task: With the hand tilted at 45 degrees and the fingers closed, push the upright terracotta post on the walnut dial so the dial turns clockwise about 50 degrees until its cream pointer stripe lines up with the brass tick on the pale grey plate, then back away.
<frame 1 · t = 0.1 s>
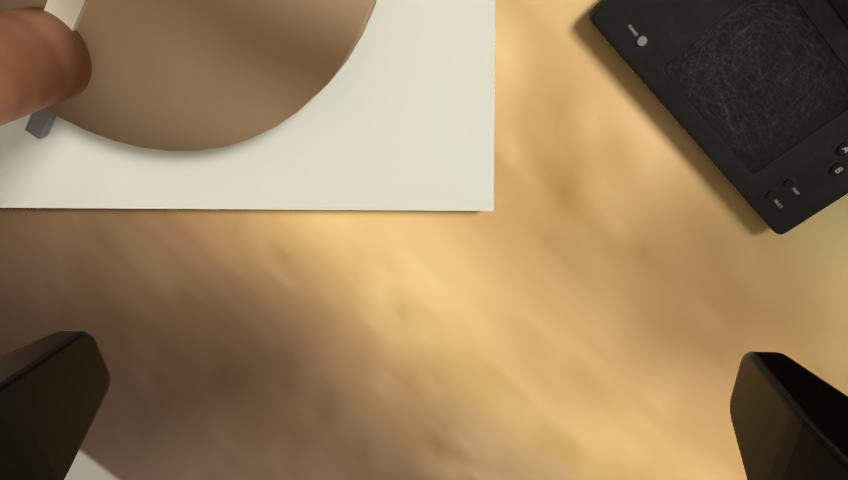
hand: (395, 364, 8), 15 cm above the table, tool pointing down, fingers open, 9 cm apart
handheld gaming console: (803, 30, 19), on the table
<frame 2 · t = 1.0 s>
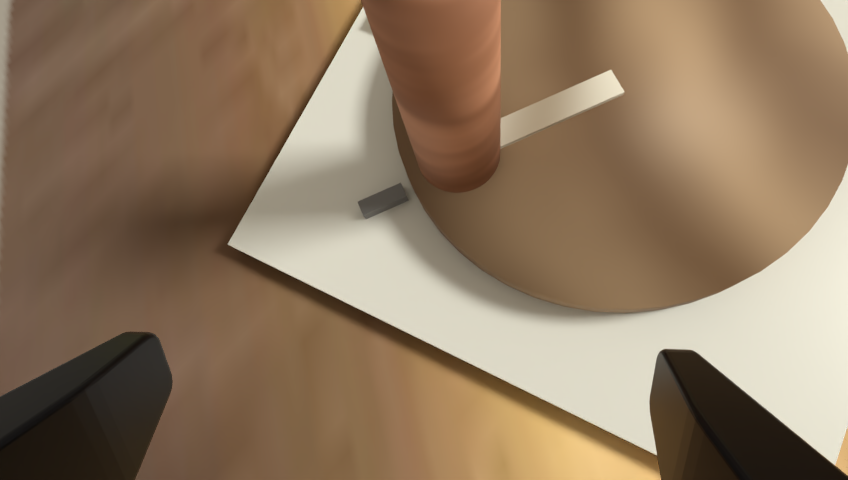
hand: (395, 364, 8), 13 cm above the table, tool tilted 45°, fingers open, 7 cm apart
dial plate: (600, 116, 23), on the table
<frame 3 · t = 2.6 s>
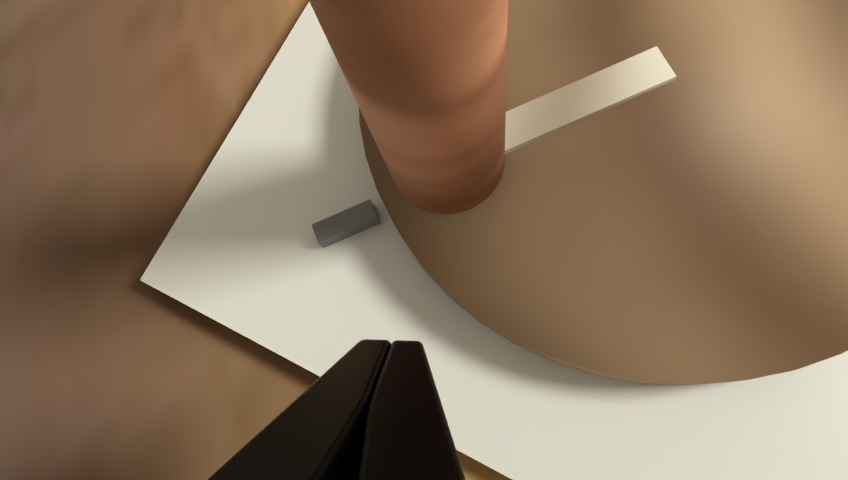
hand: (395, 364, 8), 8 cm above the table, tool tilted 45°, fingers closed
dial plate: (637, 111, 17), on the table
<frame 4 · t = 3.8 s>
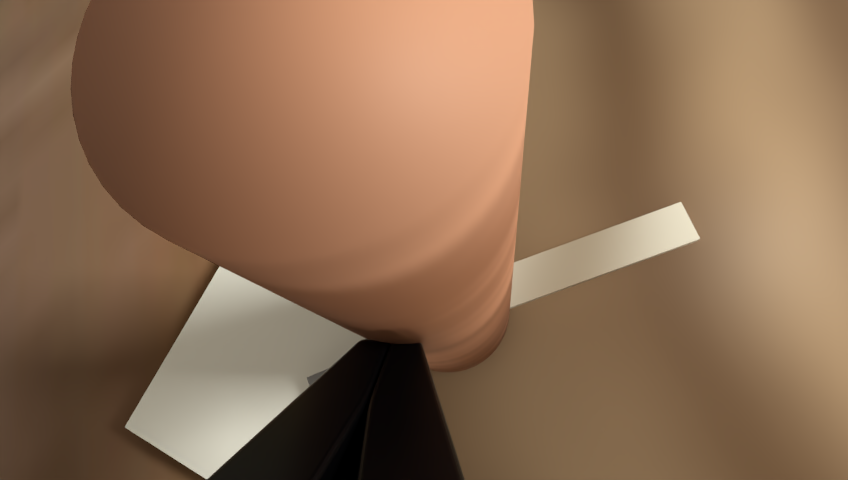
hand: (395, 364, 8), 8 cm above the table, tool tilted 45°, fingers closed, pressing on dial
dial: (770, 134, 9), point 7 cm above the table, hinge at 3.1°, touching gripper
dial plate: (655, 249, 16), on the table
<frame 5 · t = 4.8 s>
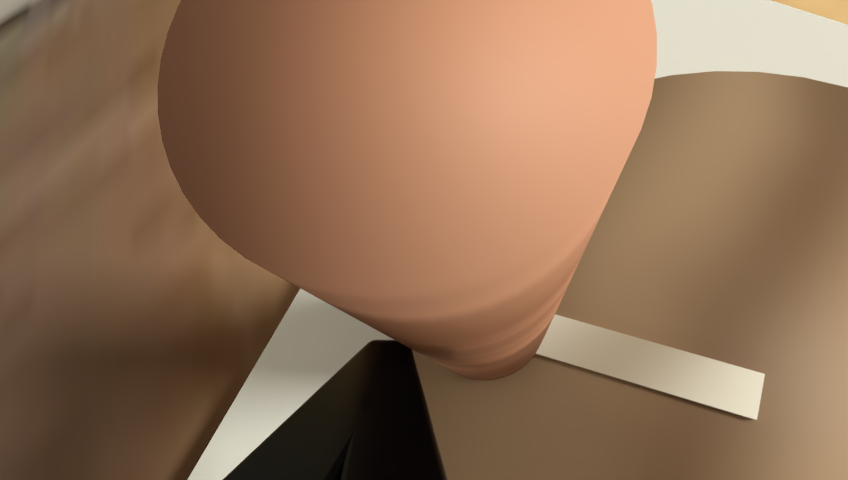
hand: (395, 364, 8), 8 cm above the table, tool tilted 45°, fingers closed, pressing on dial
dial plate: (712, 395, 15), on the table
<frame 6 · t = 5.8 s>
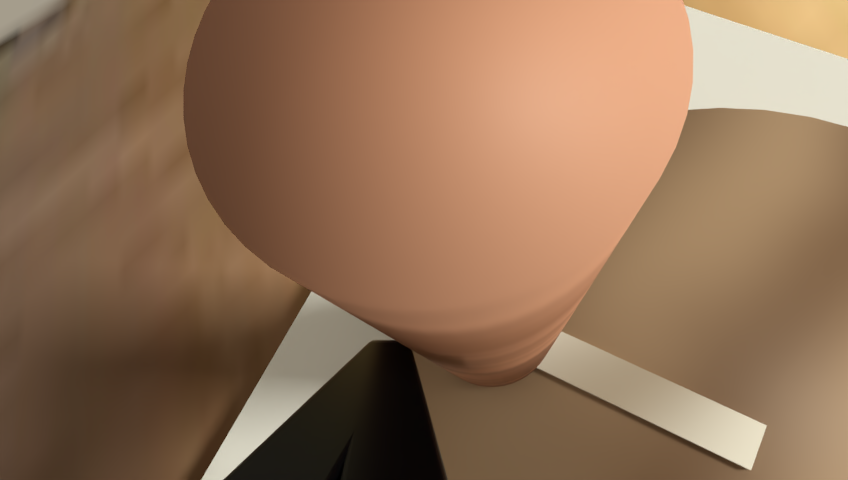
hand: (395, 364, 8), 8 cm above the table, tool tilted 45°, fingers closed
dial plate: (710, 437, 15), on the table
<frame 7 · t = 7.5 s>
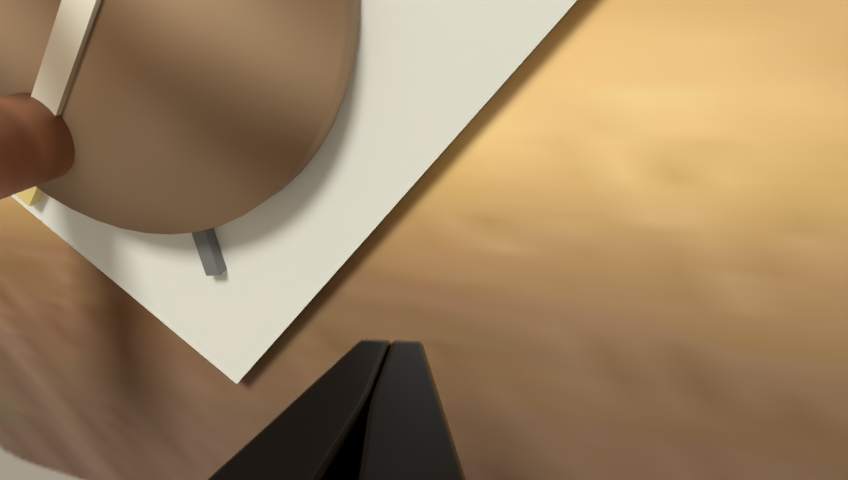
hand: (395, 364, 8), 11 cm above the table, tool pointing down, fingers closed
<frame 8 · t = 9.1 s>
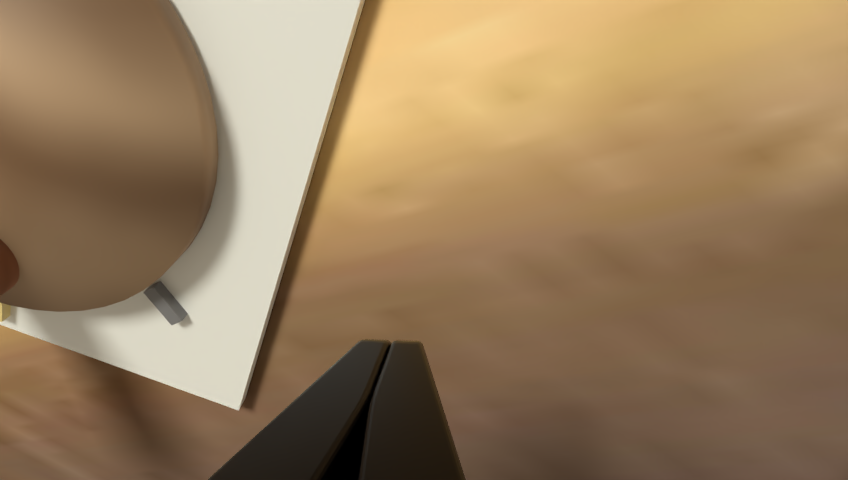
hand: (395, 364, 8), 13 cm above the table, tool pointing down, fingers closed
dial plate: (19, 96, 21), on the table
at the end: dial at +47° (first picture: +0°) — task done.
